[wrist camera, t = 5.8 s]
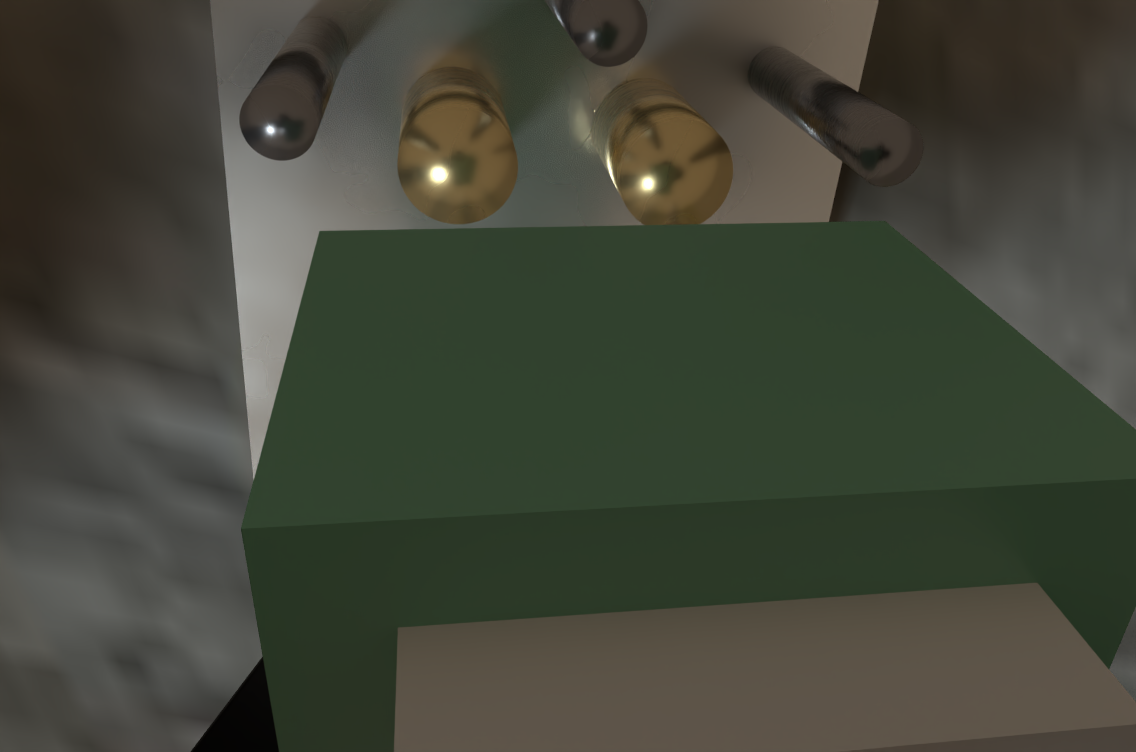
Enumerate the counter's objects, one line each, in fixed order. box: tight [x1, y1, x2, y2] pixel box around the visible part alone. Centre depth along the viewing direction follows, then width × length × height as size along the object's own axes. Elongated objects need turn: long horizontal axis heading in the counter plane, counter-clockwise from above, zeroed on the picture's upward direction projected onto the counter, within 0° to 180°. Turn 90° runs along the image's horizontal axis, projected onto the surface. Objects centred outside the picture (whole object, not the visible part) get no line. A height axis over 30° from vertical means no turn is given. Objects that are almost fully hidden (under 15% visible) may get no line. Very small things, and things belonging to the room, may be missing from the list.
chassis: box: [210, 0, 923, 478], centre depth 15 cm, size 11×10×5 cm
